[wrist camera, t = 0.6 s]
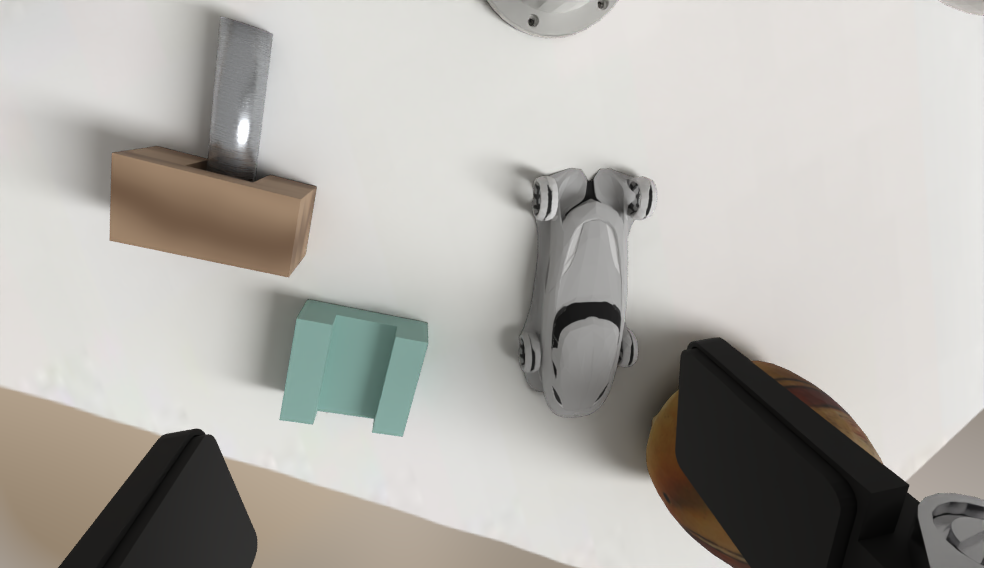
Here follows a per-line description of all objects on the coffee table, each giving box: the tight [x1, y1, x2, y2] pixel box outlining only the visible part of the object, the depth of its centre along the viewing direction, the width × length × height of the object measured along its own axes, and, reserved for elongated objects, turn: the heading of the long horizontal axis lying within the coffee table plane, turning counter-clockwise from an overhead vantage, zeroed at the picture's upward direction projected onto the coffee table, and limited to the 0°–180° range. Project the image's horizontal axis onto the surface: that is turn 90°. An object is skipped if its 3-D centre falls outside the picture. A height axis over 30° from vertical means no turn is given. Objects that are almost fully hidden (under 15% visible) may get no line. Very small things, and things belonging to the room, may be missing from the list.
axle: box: [207, 17, 273, 182], centre depth 34 cm, size 14×3×3 cm, turn 163°
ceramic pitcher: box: [646, 361, 883, 568], centre depth 39 cm, size 20×20×30 cm
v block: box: [280, 299, 428, 437], centre depth 41 cm, size 10×11×4 cm
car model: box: [519, 168, 657, 417], centre depth 42 cm, size 11×24×5 cm, turn 178°
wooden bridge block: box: [110, 146, 317, 277], centre depth 34 cm, size 6×12×6 cm, turn 73°
